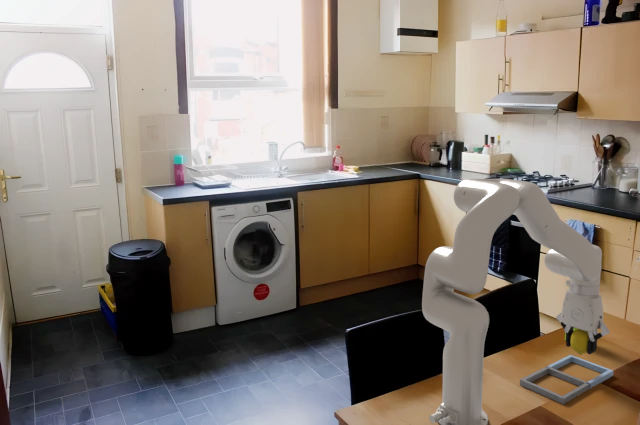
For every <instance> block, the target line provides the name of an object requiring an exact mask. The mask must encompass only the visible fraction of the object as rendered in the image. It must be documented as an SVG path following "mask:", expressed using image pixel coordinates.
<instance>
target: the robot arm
mask: <svg viewBox="0 0 640 425" xmlns="http://www.w3.org/2000/svg"><path fill="white" fill-rule="evenodd" d="M453 201H454V204H455V206H457V208H458V209H459V210H460V211H462V212H464V213H465V215H464V216H463V217H462V218H461V219H460V221H459V222H458V224H457V226H456V228H455V232H454V235H453V236H454V237H453V244H452V246H449V245H448V246H446V245H445V246H443V245H442V246H439V247H437V248H435V249H434V250H433V251H432V252H431V253H430V254H429V255H428V258H427V260H426V264H425V267H424V275H423V276H424V277H423V286H422V287H423V288H422V298H421V300H422V301H421V308H422V314H423V317H424V318H425V320H426V321H427V322H429V323H430V324H432V325H434V326H436V327H438V328H441V330H444V331H446V332H448V333H449V339H448V340H447V341H446V343H445V345H444V347H443V351H442V352H443V353H442V390H441V392H442V393H441V394H442V395H441V396H442V399H441V403H439V406H438V407H437V408H436V411H435V412H434V413H432V414H430V415H429V418H428V419H429V421H430V423H431V424H436V423H438V424H440V425H488V422H489V418H488V417H489V416H488V414H487V413H486V411H485V410H484V409H483V383H484V382H483V380H484V352H485V343H486V342H485V341H486V337H487V332H488V328H489V325H490V315H489V312H488V311H487V310H488V309H487V308H486V307H485V306H484V305H483V304H482V303H480V302H479V301H477V300H475V299H473V298H470V297H467V296H466V295H462V294H460V293H458V292H455V291H454V290H456V291H459V292H462V293H465V294H468V295H469V294H470V295H473V294H474V295H475V294H478V293H481V292H482V291H483V290H484V289H485V287H486V284H487V280H488V272H489V264H490V263H489V262H490V254H491V246H492V240H493V237H494V234H495V232H496V231H497V229H498V228H499V227H500V226H501V224H503V222H504V223H505V221H506V220H507V219H509V218H510V217H511V216H512V215H515V216H516V217H517V220H518V221H519V222H520V223H521V225H522V226H523V228H524V229H525V231H526V232H527V234H528V236H529V237H530V238H531V239H532V240H533V241H535V242H537V243H538V244H540V245H541V246H543V247H545V248H547V249H549V250H548V251H547V252H546V253H545V256H544V258H543V260H544V266H545V268H547V270H549V271H550V272H552V273H553V274H555V275H560V276H564V277H567V278H569V279H567V280H566V281H565V284H566V286H567V285H569V286H568V289H567V290H566V291H565V294H564V297H563V302H562V308H561V312H560V313H558V314H557V315H556V316H555V318H556V320H558V321H557V322H559V323H560V326H561V327H562V328H563V332H564V333H566V341H565V346H566V347H567V348H568V347H571V343H570V339H571V335H572V333H573V332H574V331H573V329H574V328H577V329H580V330H583V331H587V332H588V334H589V337H590V340H589V341H588V346H587V352H586V354H588V355H593V353H595V352H596V351H597V348H598V346H597V345H598V340H599V339H601V338H602V337H604V336H606V335H608V334H610V333H611V332H610V330H609V327H608V326H607V325H606V324H605V322H604V307H603V306H604V304H603V303H604V302H603V299H602V295H601V294H600V287H601V273H602V261H603V260H602V259H603V251H602V249H601V247H600V246H598V245H595V244H592V243H591V241H590V240H588V239H587V238H586V237H585V236H584V235H583V234H581V233H580V232H579V231H577V230H576V229H574V228H573V227H572V226H570V225H569V224H568V223H566V222H565V221H563V220H562V219H561V218H560V216H559V215H558V213H557V211H556V210H555V208H554V207H553V205H552V204H551V202H550V200H549V198H548V197H547V195H546V194H545V193H544V191H543V190H542V188H541V187H540V186H539V185H538V184H536V183H534V182H531V181H525V180H517V179H509V178H467V179H464V180H462V181H460V182H459V183H458V184H457V185H456V186H455V189H454V191H453ZM598 330H601V331H600V332H599V331H598Z"/></svg>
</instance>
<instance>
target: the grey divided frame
mask: <svg viewBox="0 0 640 425" xmlns="http://www.w3.org/2000/svg"><path fill="white" fill-rule="evenodd" d="M569 363H574V364H577V365H579V366H581V367H584V368H587V369H589V370H592V371H595V372H596V373H597V372H598V373H600V374H599V375H597V376H595V377H593V378H592V379H590V380H588V381H586V380H583V379H581V378H578V377H576V376H573V375H571V374H568V373H565V372H564V371H561V370H559V369H560V368H562V367H563V366H566V365H568V364H569ZM546 375H550V376H553V377H555V378H557V379H561V380H562V381H565V382H568V383H570V384H573V385H576V386H578V387H576V388H574V389H573V390H571V391H568V392H567V393H565V394H563V395H562V394H560V393H559V394H558V393H556V392H554V391H551V390H550V389H548V388H545V387H543V386H540V385H538V384H536V383H533V382H535V381H536V380H538V379H540V378H542V377H545V376H546ZM613 376H614V370H613V369H611V368H607V367H605V366H602V365H599V364H596V363H594V362H592V361H589V360H586V359H583V358H580V357H578V356H574V355H572V354H569V355H567V356H564V357H563V358H560V359H559V360H557V361H555V362H553V363H550V364H548V365H546V366H544V367H543V368H541V369H538V370H537V371H534V372H532V373H530V374H529V375H526V376H525V377H523V378H520V379H519V385H520V386H521V387H524V388H525V389H528V390H530V391H532V392H535V393H537V394H539V395H541V396H544V397H546V398H548V399H551V400H553V401H555V402H557V403H559V404H561V405H565V404H567V403H568V402H570V401H572V400H573V398H574V399H576V398H577V397H579V396H580V395H579V394H581V393H582V394H584V393H585V391H586V390H587V391H589V390H590V388H591V389H593V388H594V387H596V386H597V384H598V385H599V383H600V384H601V383H603V382H604V381H606V380H608V379H610V378H611V377H613ZM595 385H596V386H595ZM593 386H594V387H593ZM592 387H593V388H592ZM588 389H589V390H588ZM587 391H586V392H587ZM583 392H584V393H583ZM582 394H581V395H582ZM578 395H579V396H578ZM576 396H577V397H576ZM571 399H572V400H571ZM566 402H567V403H566Z"/></svg>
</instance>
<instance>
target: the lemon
mask: <svg viewBox="0 0 640 425" xmlns="http://www.w3.org/2000/svg"><path fill="white" fill-rule="evenodd" d="M589 340H590V337H589V334H588V332H587V331H583V330H580V329H577V330H575V331H574V332H573V333H572V335H571V339H570V343H571V346H570V347H571V348H572V350H573V351H574V352H576V353H577V354H578V355H579V356H580V355H581V356H582V355H583V354H587V346H588V341H589Z"/></svg>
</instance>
